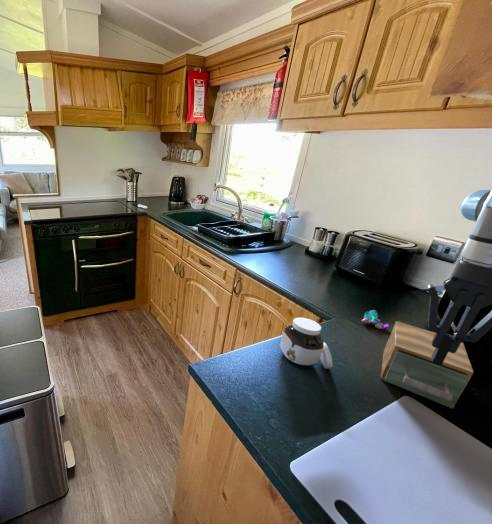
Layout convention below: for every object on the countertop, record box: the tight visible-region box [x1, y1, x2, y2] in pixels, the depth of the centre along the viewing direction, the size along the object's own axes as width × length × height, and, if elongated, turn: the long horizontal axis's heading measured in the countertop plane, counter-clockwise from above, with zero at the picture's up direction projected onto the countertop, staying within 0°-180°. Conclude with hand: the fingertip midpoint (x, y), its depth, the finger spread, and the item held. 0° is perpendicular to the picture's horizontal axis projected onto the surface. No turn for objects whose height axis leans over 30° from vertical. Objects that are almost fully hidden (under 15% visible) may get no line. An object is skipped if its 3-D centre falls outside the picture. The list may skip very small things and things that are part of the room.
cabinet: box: [380, 320, 474, 409], centre depth 77 cm, size 17×14×11 cm
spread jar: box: [279, 317, 334, 370], centre depth 80 cm, size 12×11×12 cm
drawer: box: [383, 350, 469, 409], centre depth 73 cm, size 22×13×9 cm, turn 139°
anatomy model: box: [361, 309, 390, 330], centre depth 103 cm, size 5×8×7 cm
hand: (436, 360), depth 65 cm, fingers closed
